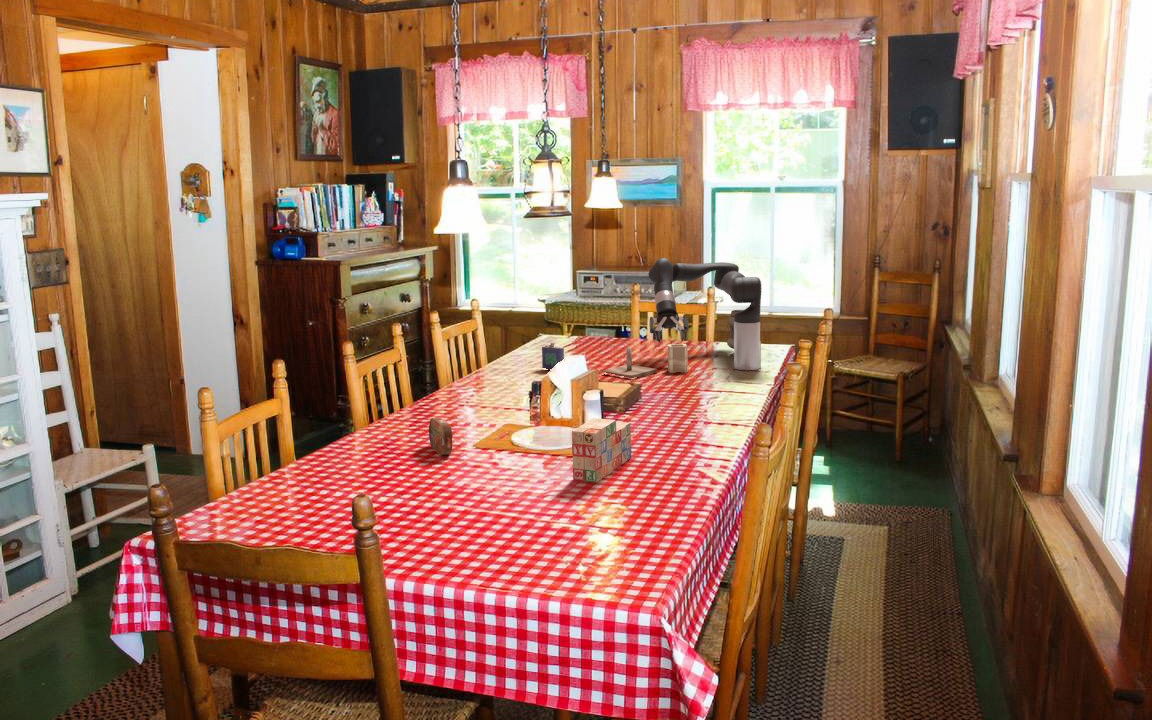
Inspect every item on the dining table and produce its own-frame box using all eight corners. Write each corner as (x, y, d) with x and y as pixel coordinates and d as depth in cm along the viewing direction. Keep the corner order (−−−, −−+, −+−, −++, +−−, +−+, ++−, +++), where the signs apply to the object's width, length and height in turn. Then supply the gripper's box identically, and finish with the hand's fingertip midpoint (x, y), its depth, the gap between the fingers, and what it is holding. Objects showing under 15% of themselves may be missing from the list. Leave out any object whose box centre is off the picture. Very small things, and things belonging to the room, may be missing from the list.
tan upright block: (667, 370, 342) (667, 344, 340) (685, 369, 342) (685, 344, 340) (670, 372, 337) (669, 347, 335) (687, 372, 337) (687, 346, 335)
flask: (565, 370, 346) (564, 342, 344) (561, 372, 344) (560, 343, 342) (544, 369, 351) (543, 340, 349) (540, 370, 348) (539, 342, 346)
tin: (428, 445, 254) (426, 415, 252) (439, 443, 255) (438, 413, 253) (443, 459, 240) (441, 427, 239) (455, 457, 241) (453, 426, 240)
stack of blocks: (609, 455, 240) (608, 408, 237) (632, 458, 237) (631, 410, 235) (572, 480, 221) (571, 429, 219) (596, 483, 218) (595, 432, 216)
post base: (627, 368, 347) (627, 343, 345) (656, 373, 337) (656, 347, 335) (602, 374, 337) (601, 348, 335) (631, 379, 327) (631, 353, 326)
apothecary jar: (735, 352, 372) (735, 307, 368) (763, 355, 365) (764, 309, 361) (721, 357, 362) (721, 311, 359) (750, 360, 355) (750, 313, 352)
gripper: (683, 310, 357) (688, 345, 348) (646, 311, 356) (650, 347, 347) (685, 298, 351) (691, 334, 342) (647, 300, 350) (652, 335, 341)
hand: (670, 340), depth 345 cm, fingers open, 8 cm apart
